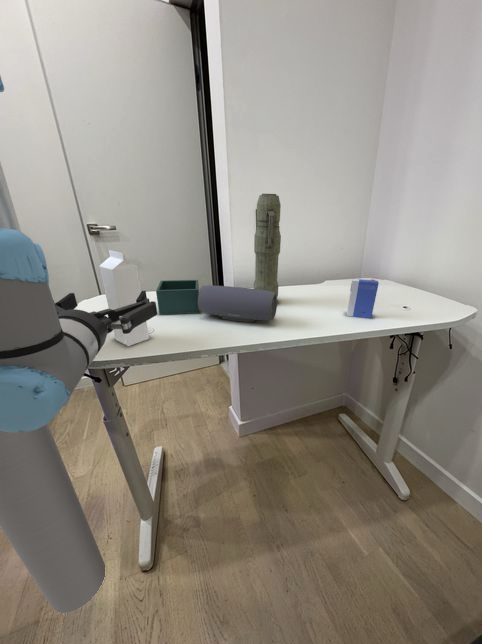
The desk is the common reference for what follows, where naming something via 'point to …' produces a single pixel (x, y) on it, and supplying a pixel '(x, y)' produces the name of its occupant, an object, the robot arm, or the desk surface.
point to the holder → (178, 297)
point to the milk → (122, 292)
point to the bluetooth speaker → (237, 303)
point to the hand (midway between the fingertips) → (110, 298)
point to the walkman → (362, 298)
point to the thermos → (267, 243)
